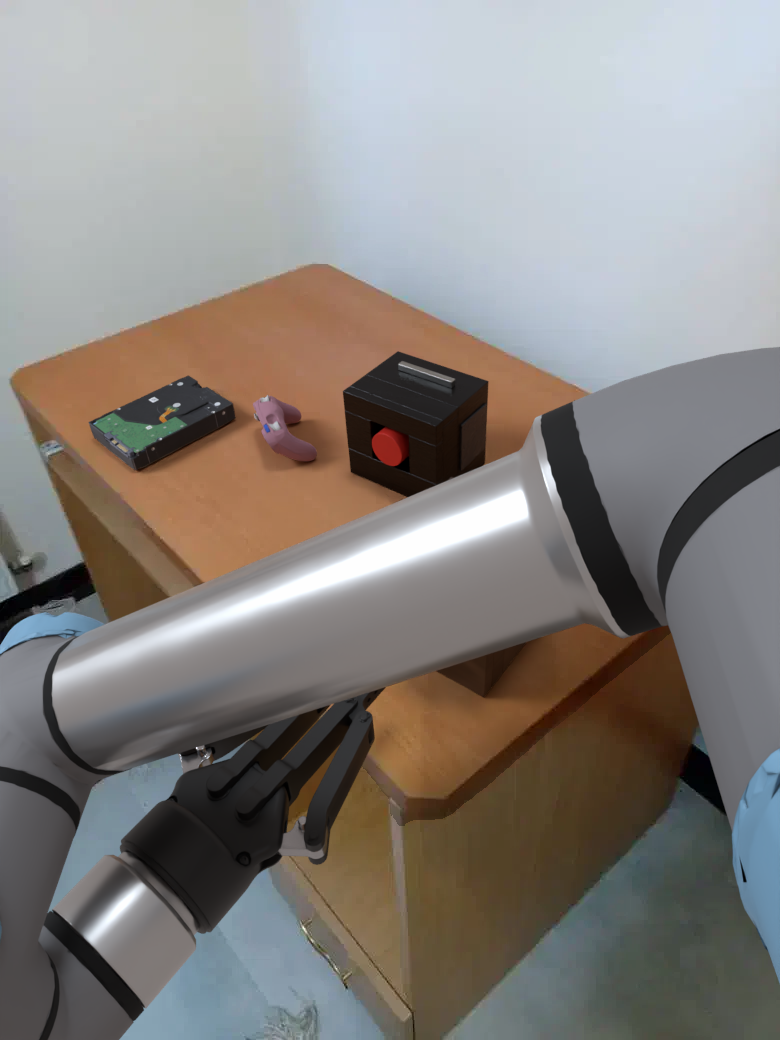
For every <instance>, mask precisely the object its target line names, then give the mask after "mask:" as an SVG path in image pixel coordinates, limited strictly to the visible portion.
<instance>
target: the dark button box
mask: <svg viewBox="0 0 780 1040" xmlns="http://www.w3.org/2000/svg"><path fill="white" fill-rule="evenodd" d="M489 383H490V382H489V381H488V380H486V379H483V378H480V377H478V376H474V375H471V374H469V373H466V372H462V371H459V370H456V369H453V368H451V367H446V366H444V365H441V364H438V363H434V362H432V361H429V360H426V359H423V358H420V357H417V356H413V355H410V354H408V353H404V352H401V351H396V352H394V353H393V354H392V355H391V356H389V357H388V358H386V359H385V360H384V361H382V362H381V363H379V364H378V365H377V366H375V367H374V368H373V369H371V370H369V371H368V372H367V373H366V374H364V375H363V376H361V377H360V378H359V379H357V380H356V381H354V382H353V383H352V384H350V385H349V386H348V387H346V388H345V389H344V390H342V399H343V408H344V419H345V420H344V421H345V430H346V438H347V439H346V440H347V448H348V458H349V459H348V460H349V469H350V473H351V474H353V475H356V476H358V477H360V478H362V479H364V480H368V481H370V482H372V483H374V484H376V485H379V486H381V487H383V488H386V489H388V490H390V491H393V492H395V493H397V494H399V495H401V496H404V497H405V498H408V497H410V496H412V495H415V494H417V493H419V492H422V491H424V490H427V489H429V488H431V487H434V486H436V485H439V484H441V483H443V482H446V481H447V480H448V479H449V478H450V477H453V478H455V477H458V476H460V475H462V474H465V473H467V472H469V471H472V470H474V469H477V468H479V467H481V466H484V465H485V464H486V447H487V428H488V427H487V424H488V405H489V404H488V403H489V401H488V400H489ZM385 427H388V428H391V429H393V430H396V431H398V432H401V433H403V434H406V435H409V456H408V457H407V458H406V459H404V460H403V461H402V462H401V463H400V464H399V465H397V466H389V465H387V464H385V463H383V462H382V461H381V460H380V459H379V458H378V457H377V456H376V454H375V453H374V450H373V447H372V439H373V437H374V436H375V435H376V434H377V433H378V432H380V431H381V430H382V429H383V428H385Z"/></svg>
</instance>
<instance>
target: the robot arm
mask: <svg viewBox="0 0 780 1040" xmlns="http://www.w3.org/2000/svg"><path fill="white" fill-rule="evenodd" d="M584 624H585V625H591V626H595V627H596V628H598V629H601V630H602V631H605V632H606V633H609V634H611V635H613V636H616V637H617V638H619V639H626V638H630V637H633V636H636V635H639V634H643V633H646V632H649V631H652V630H655V629H659V628H663V627H666V626H668V628H669V631H670V633H671V636H672V639H673V642H674V646H675V649H676V652H677V656H678V659H679V662H680V666H681V669H682V673H683V675H684V678H685V682H686V685H687V689H688V691H689V695H690V698H691V701H692V705H693V708H694V711H695V714H696V717H697V721H698V725H699V728H700V731H701V734H702V737H703V738H702V739H703V741H704V745H705V748H706V752H707V754H708V757H709V761H710V764H711V767H712V770H713V774H714V777H715V780H716V783H717V784H716V785H717V787H718V790H719V793H720V796H721V800H722V804H723V806H724V810H725V814H726V816H727V820H728V823H729V826H730V829H731V843H732V868H733V872H734V876H735V880H736V885H737V887H738V891H739V896H740V899H741V903H742V905H743V908H744V911H745V912H746V914H747V916H748V917H749V919H750V920H751V922H752V924H753V925H754V926H755V928H756V931H757V934H758V936H759V938H760V941H761V943H762V945H763V947H764V949H765V950H766V951H767V952H768V954H769V956H770V960H771V962H772V966H773V968H774V972H775V974H776V977H777V980H778V983H779V984H780V346H773V347H761V348H755V349H754V348H753V349H748V350H747V349H746V350H741V351H734V352H728V353H727V352H726V353H721V354H716V355H712V356H708V357H707V356H706V357H703V358H699V359H695V360H690V361H685V362H682V363H677V364H673V365H669V366H666V367H663V368H660V369H656V370H653V371H650V372H647V373H643V374H641V375H637V376H634V377H631V378H628V379H624V380H621V381H619V382H617V383H614V384H612V385H610V386H607V387H604V388H602V389H599V390H597V391H595V392H592V393H589V394H588V395H585V396H583V397H580V398H578V399H574V400H573V401H570V402H568V403H566V404H563V405H561V406H559V407H556V408H554V409H552V410H550V411H547V412H545V413H543V414H540V415H538V416H536V417H535V418H534V419H533V422H532V424H531V426H530V429H529V431H528V433H527V435H526V438H525V440H524V442H523V444H522V447H521V448H520V449H519V450H517V451H515V452H512V453H510V454H508V455H505V456H502V457H501V458H499V459H496V460H493V461H491V462H489V463H487V464H486V463H485V464H483V465H482V466H481V467H479V468H477V469H474V470H472V471H469V472H467V473H465V474H462V475H460V476H458V477H455V478H453V479H450V480H448V481H446V482H443V483H441V484H439V485H436V486H434V487H431V488H429V489H427V490H424V491H422V492H419V493H417V494H415V495H412V496H410V497H404V498H402V499H401V500H398V501H395V502H393V503H391V504H389V505H385V506H384V507H381V508H378V509H376V510H374V511H372V512H369V513H367V514H365V515H362V516H360V517H358V518H355V519H353V520H350V521H348V522H345V523H343V524H341V525H339V526H335V527H334V528H332V529H329V530H327V531H324V532H322V533H320V534H317V535H315V536H313V537H310V538H307V539H305V540H302V541H300V542H297V543H295V544H293V545H291V546H289V547H286V548H284V549H281V550H278V551H276V552H274V553H272V554H270V555H267V556H264V557H262V558H260V559H257V560H255V561H252V562H250V563H248V564H245V565H242V566H241V567H238V568H236V569H233V570H231V571H229V572H226V573H224V574H222V575H219V576H217V577H215V578H212V579H210V580H207V581H205V582H203V583H200V584H198V585H195V586H193V587H191V588H188V589H186V590H184V591H181V592H178V593H176V594H174V595H171V596H170V597H167V598H164V599H161V600H160V601H158V602H155V603H152V604H149V605H148V606H145V607H143V608H140V609H138V610H136V611H134V612H131V613H129V614H126V615H124V616H122V617H119V618H117V619H114V620H112V621H110V622H107V623H104V622H102V621H100V620H98V619H96V618H94V617H90V616H88V615H85V614H81V613H78V612H72V611H71V612H70V611H64V612H63V613H61V614H58V615H57V614H56V615H55V614H52V613H50V612H46V611H44V612H39V613H35V614H32V615H29V616H27V617H26V618H24V619H22V620H20V621H18V622H17V623H16V624H14V625H13V626H12V627H11V629H10V630H9V631H8V632H7V634H6V636H5V637H4V639H3V640H2V641H1V644H0V1040H121V1038H122V1037H123V1036H124V1035H125V1033H127V1031H128V1030H129V1029H130V1027H132V1025H133V1024H134V1023H135V1022H136V1021H137V1019H138V1018H139V1017H140V1016H141V1014H142V1013H143V1012H144V1011H145V1009H147V1008H148V1007H149V1006H150V1005H151V1004H152V1002H153V1001H154V1000H155V999H156V998H157V996H158V995H159V994H161V992H162V991H163V989H164V988H165V987H166V986H167V984H168V983H169V982H170V981H171V980H172V979H173V978H174V976H175V975H176V974H177V973H178V972H179V970H180V969H182V967H183V966H184V965H185V964H186V962H187V961H188V959H190V957H191V956H192V955H193V954H194V953H195V952H196V950H197V939H196V937H195V936H196V934H197V933H198V934H202V935H205V934H206V933H211V932H212V931H214V929H215V928H216V927H217V926H218V925H219V924H220V922H221V921H222V920H223V919H224V917H225V916H226V915H227V914H228V913H229V912H230V911H231V910H232V908H233V907H234V905H235V904H236V903H237V902H238V901H239V900H240V899H241V897H243V895H244V894H245V893H246V892H247V890H248V889H249V887H250V886H251V884H252V883H253V881H254V880H255V878H256V877H257V876H258V875H259V874H261V873H262V872H263V871H265V870H267V869H270V868H272V867H274V866H275V865H277V864H278V863H279V862H280V861H281V859H283V858H282V857H307V858H308V861H309V863H311V864H312V865H316V866H319V865H322V864H324V863H325V862H326V861H327V859H328V855H329V846H330V840H331V839H330V837H331V829H332V828H333V826H334V823H335V821H336V819H337V817H338V815H339V813H340V811H341V810H342V808H343V805H344V803H345V801H346V799H347V797H348V796H349V793H350V791H351V789H352V787H353V785H354V783H355V781H356V779H357V777H358V775H359V773H360V771H361V768H362V767H363V765H364V762H365V760H366V759H367V756H368V754H369V752H370V750H371V748H372V746H373V744H374V743H375V738H376V737H375V736H376V735H375V725H374V717H373V714H372V713H371V712H370V711H368V710H367V709H368V708H369V707H370V706H371V705H372V704H373V703H374V701H375V700H376V699H377V698H378V697H379V696H380V695H381V693H383V691H385V689H386V688H387V687H390V686H393V685H397V684H401V683H403V682H406V681H409V680H413V679H415V678H419V677H421V676H425V675H427V674H431V673H434V672H437V670H440V669H443V668H447V667H450V666H453V665H456V664H459V663H462V662H465V661H468V660H472V659H475V658H478V657H481V656H484V655H487V654H490V653H493V652H497V651H500V650H503V649H506V648H509V647H512V646H515V645H518V644H522V643H525V642H526V643H528V642H531V641H533V640H537V639H540V638H543V637H546V636H549V635H553V634H556V633H559V632H562V631H565V630H568V629H571V628H574V627H577V626H581V625H584ZM257 734H258V735H257ZM256 735H257V736H256ZM255 736H256V737H255ZM253 737H255V738H254V739H252V738H253ZM241 745H242V746H241ZM238 748H239V749H238ZM236 749H238V750H237V751H236V752H235V753H234V754H233V755H232V756H231V757H230V758H227V759H224V760H221V761H218V760H220V759H222V758H223V757H226V756H227V755H229V754H230V753H231V752H233V751H234V750H236ZM336 749H337V750H336ZM334 752H335V754H334V756H333V757H332V760H331V761H330V763H329V765H328V767H327V769H326V771H325V773H324V774H323V777H322V779H321V780H320V782H319V784H318V786H317V788H316V790H315V792H314V793H313V796H312V798H311V800H310V802H309V805H308V808H307V812H306V816H305V815H301V816H299V817H298V818H297V820H296V821H295V823H294V825H293V827H292V828H291V829H290V830H289V831H288V826H289V825H288V823H289V816H290V807H291V806H292V805H293V803H294V802H295V801H296V800H297V799H298V797H299V795H300V793H301V790H302V788H303V787H304V786H305V785H306V784H307V782H309V780H310V779H311V778H312V777H313V776H314V775H315V774H316V773H317V771H318V770H319V769H320V768H321V767H322V765H324V763H325V762H326V761H327V760H328V759H329V758H330V757H331V755H332V754H333V753H334ZM174 755H177V756H178V759H179V761H180V764H181V771H182V775H180V776H179V778H178V779H177V780H176V782H175V785H174V788H173V790H172V792H171V794H170V795H169V797H167V798H166V799H165V800H161V801H159V802H158V803H156V804H155V805H154V806H153V807H152V808H151V809H150V810H149V811H148V812H146V814H145V815H144V816H143V817H142V818H141V819H140V820H139V821H138V822H137V823H136V824H135V825H134V826H133V827H132V828H131V829H130V830H129V831H128V832H127V833H126V834H125V835H124V836H123V837H122V838H121V839H120V845H119V851H120V854H119V855H118V856H117V855H115V854H104V855H103V856H102V857H101V858H100V859H99V860H98V861H97V862H96V863H95V865H93V867H91V869H90V870H89V871H87V873H86V874H85V875H84V876H83V877H82V878H81V879H80V880H79V881H77V883H76V884H75V885H74V886H73V887H72V888H71V889H70V890H69V891H68V893H66V894H65V895H64V896H63V897H62V899H61V900H59V901H58V902H57V904H55V905H54V907H53V908H51V910H50V907H51V904H52V901H53V898H54V896H55V893H56V890H57V887H58V885H59V883H60V882H59V881H60V878H61V875H62V873H63V870H64V867H65V865H66V861H67V858H68V856H69V853H70V849H71V846H72V845H73V841H74V838H75V836H76V834H77V831H78V829H79V826H80V822H81V819H82V817H83V814H84V812H85V808H86V805H87V803H88V801H89V798H90V795H91V792H92V790H93V786H94V785H95V783H96V782H97V781H101V780H103V779H107V778H109V777H112V776H115V775H118V774H121V773H124V772H127V771H130V770H132V769H135V768H137V767H140V766H143V765H146V764H150V763H152V762H153V763H154V762H156V761H159V760H162V759H165V758H169V757H172V756H174ZM216 761H217V762H216Z"/></svg>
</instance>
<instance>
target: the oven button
mask: <svg viewBox="0 0 780 1040" xmlns="http://www.w3.org/2000/svg"><path fill="white" fill-rule="evenodd" d="M372 447H373V450H374V453H375V454H376V456H377V457H378V458H379V459H380V460H381V461H382V462H383V463H385V464H387V465H389V466H397V465H399V464H400V463H401V462H402V461H403V460H404V459H406V458H407V457H408V456H409V435H406V434H403V433H401V432H398V431H396V430H393V429H391V428H388V427H385V428H383V429H382V430H381V431H380V432H378V433H377V434H376V435H375V436H374V437H373V439H372Z"/></svg>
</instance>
